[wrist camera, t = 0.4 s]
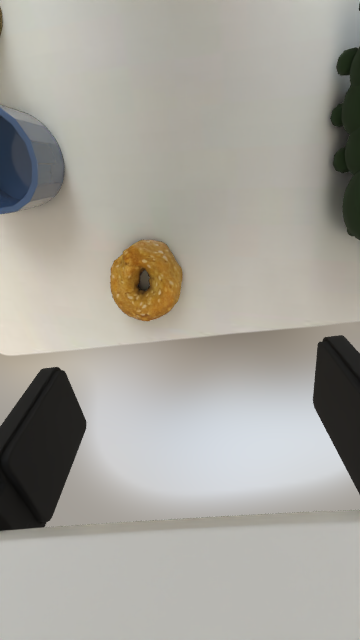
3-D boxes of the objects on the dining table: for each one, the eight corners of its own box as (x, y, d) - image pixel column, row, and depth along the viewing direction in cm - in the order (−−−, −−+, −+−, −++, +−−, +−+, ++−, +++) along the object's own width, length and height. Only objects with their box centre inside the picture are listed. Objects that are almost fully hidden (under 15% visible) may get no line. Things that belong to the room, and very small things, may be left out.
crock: (-36, 118, 32) (-89, 107, 26) (47, 103, 32) (13, 88, 25) (1, 210, 37) (-36, 219, 31) (75, 199, 36) (52, 206, 30)
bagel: (194, 252, 39) (195, 262, 35) (168, 319, 44) (166, 335, 40) (123, 225, 37) (115, 233, 33) (104, 298, 42) (95, 313, 38)
